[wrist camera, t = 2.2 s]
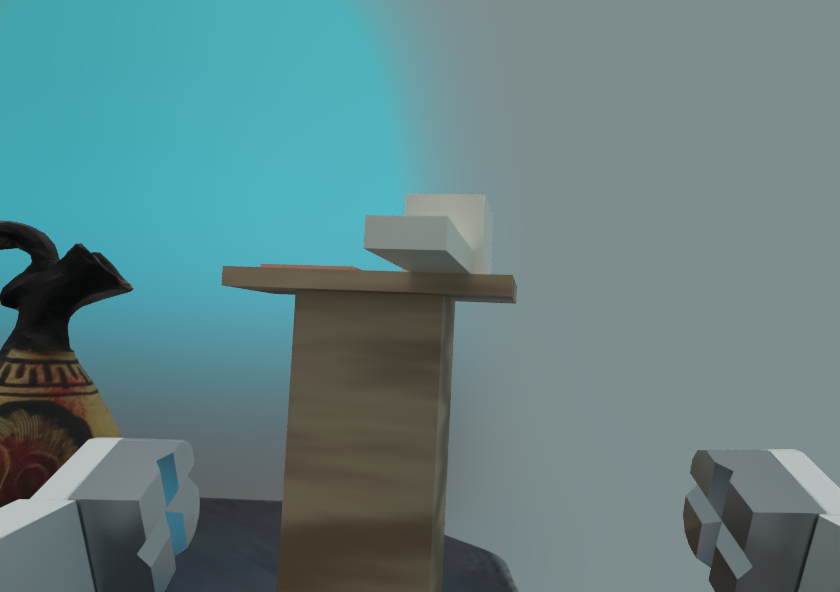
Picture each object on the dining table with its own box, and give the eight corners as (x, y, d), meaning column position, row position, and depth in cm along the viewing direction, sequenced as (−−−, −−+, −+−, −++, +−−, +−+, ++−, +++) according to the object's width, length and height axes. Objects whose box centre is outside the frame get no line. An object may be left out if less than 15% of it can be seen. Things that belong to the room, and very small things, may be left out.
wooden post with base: (488, 850, 27) (512, 270, 28) (186, 784, 30) (223, 262, 31) (497, 751, 33) (516, 282, 35) (248, 705, 36) (275, 274, 38)
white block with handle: (460, 250, 21) (465, 138, 21) (350, 247, 22) (356, 139, 22) (490, 285, 35) (493, 218, 35) (423, 283, 36) (427, 217, 36)
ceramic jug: (151, 583, 52) (177, 243, 54) (85, 689, 37) (123, 210, 39) (-67, 588, 49) (-33, 228, 51) (-237, 705, 34) (-180, 186, 36)
